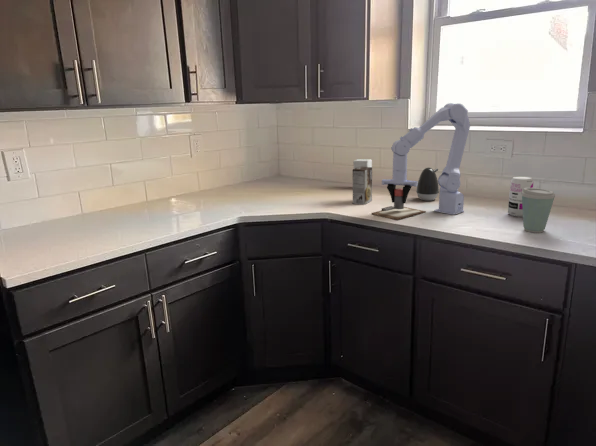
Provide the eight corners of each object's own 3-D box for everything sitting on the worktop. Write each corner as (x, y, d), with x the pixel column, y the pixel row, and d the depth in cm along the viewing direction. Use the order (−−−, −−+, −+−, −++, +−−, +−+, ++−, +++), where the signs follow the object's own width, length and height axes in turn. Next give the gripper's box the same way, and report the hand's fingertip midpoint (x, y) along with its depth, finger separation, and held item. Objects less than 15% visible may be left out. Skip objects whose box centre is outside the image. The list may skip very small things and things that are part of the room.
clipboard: (425, 212, 197) (426, 208, 196) (397, 220, 186) (397, 216, 186) (399, 207, 208) (399, 203, 207) (371, 214, 197) (371, 210, 196)
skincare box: (372, 188, 252) (372, 159, 248) (367, 190, 247) (367, 160, 243) (358, 187, 256) (358, 158, 252) (353, 189, 251) (353, 160, 247)
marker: (404, 207, 197) (405, 188, 195) (402, 209, 194) (403, 190, 192) (394, 206, 199) (395, 188, 197) (392, 208, 195) (393, 189, 193)
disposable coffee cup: (541, 226, 172) (545, 185, 168) (557, 234, 162) (562, 191, 158) (512, 227, 172) (516, 186, 168) (527, 235, 162) (531, 192, 158)
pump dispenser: (443, 200, 218) (445, 168, 214) (424, 202, 214) (426, 169, 210) (429, 196, 227) (431, 165, 223) (411, 198, 223) (412, 167, 220)
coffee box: (359, 199, 225) (360, 166, 221) (372, 200, 222) (372, 166, 218) (351, 203, 218) (351, 169, 213) (364, 204, 214) (365, 169, 210)
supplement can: (531, 213, 190) (534, 176, 187) (528, 218, 184) (532, 180, 180) (509, 211, 194) (512, 175, 191) (506, 216, 188) (509, 178, 184)
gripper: (419, 169, 192) (418, 201, 196) (385, 167, 199) (384, 199, 202) (415, 171, 186) (414, 205, 190) (380, 170, 193) (379, 202, 196)
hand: (398, 202), depth 196 cm, fingers closed on marker, 4 cm apart
